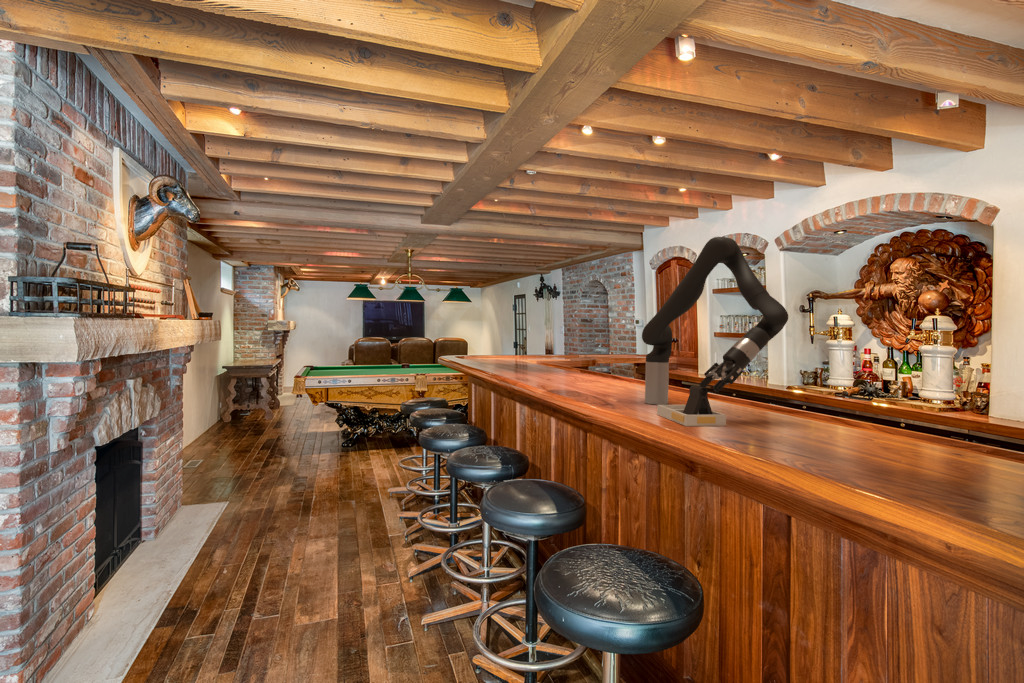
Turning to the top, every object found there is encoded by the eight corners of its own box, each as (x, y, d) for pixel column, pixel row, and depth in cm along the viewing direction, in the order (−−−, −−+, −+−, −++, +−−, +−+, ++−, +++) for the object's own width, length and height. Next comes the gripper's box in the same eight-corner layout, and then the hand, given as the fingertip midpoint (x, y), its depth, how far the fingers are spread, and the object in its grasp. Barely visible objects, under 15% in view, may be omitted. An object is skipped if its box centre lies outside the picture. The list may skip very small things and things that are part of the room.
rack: (656, 414, 174) (656, 404, 174) (692, 414, 176) (692, 404, 176) (685, 426, 153) (685, 415, 153) (726, 426, 155) (726, 415, 155)
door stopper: (705, 420, 163) (705, 385, 163) (715, 424, 157) (716, 387, 157) (680, 421, 162) (681, 385, 162) (689, 424, 156) (690, 387, 156)
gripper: (721, 345, 168) (689, 378, 166) (747, 347, 153) (712, 383, 152) (735, 360, 168) (703, 393, 167) (762, 363, 154) (727, 399, 153)
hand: (707, 388), depth 160 cm, fingers open, 8 cm apart
